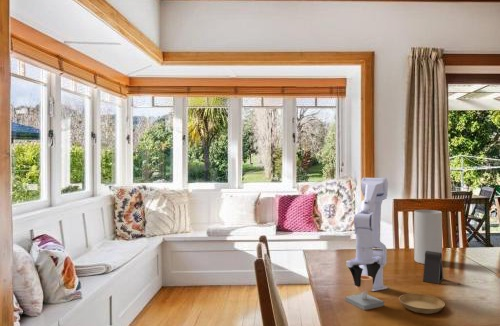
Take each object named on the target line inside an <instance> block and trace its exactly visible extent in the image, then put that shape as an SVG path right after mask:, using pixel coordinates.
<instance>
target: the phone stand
mask: <svg viewBox="0 0 500 326" xmlns="http://www.w3.org/2000/svg"><path fill="white" fill-rule="evenodd" d="M423 265H424V267H423V277H422V282H425V283H429V284H436V285H439V284H441V282H443V280H444V279H445V278H444V267H443V252H442V253H439V252H431V251H426V252H425V264H423Z"/></svg>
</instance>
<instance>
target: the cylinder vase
mask: <svg viewBox="0 0 500 326" xmlns="http://www.w3.org/2000/svg"><path fill="white" fill-rule="evenodd" d="M413 214H414V215H413V216H414V217H413V223H414V224H413V232H414V233H413V234H414V236H413V239H414V240H413V241H414V243H413V244H414V245H413V247H414V249H413V250H414V251H413V253H414V258H413V259H414V262H416V263H418V264H422V265H424V264H425V252H426V251H431V252H439V253H442V254H443V212H442V211H440V210H435V209H433V210H432V209H417V210H414V211H413Z"/></svg>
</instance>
